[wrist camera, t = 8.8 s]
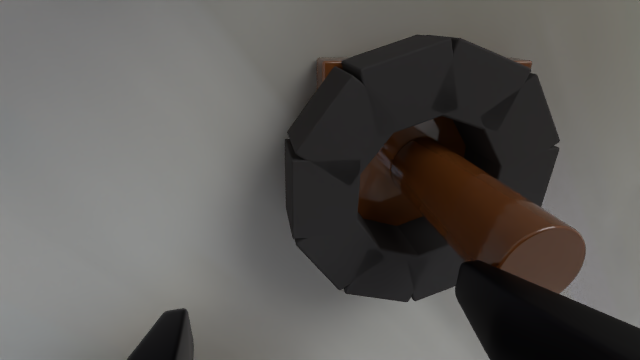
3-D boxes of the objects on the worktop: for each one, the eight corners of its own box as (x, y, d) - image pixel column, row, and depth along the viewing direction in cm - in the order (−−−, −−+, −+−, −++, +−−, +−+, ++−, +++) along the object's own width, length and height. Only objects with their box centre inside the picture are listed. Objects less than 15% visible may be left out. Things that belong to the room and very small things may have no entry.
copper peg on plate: (313, 242, 16) (365, 410, 9) (316, 57, 13) (399, 104, 6) (472, 227, 18) (619, 362, 11) (511, 57, 14) (761, 95, 7)
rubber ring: (287, 279, 15) (293, 317, 13) (282, 32, 11) (290, 35, 9) (484, 257, 17) (515, 289, 15) (541, 36, 13) (595, 40, 11)
